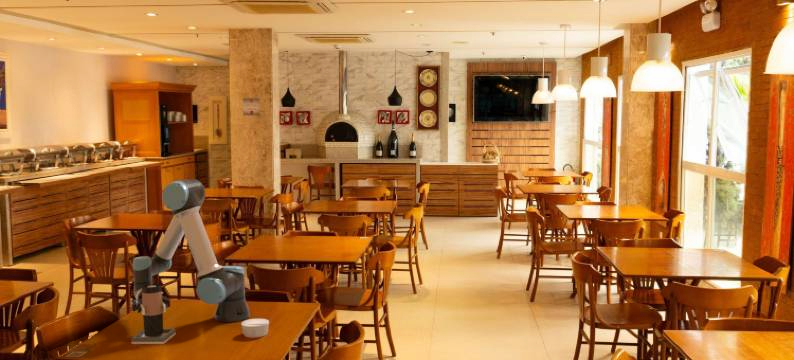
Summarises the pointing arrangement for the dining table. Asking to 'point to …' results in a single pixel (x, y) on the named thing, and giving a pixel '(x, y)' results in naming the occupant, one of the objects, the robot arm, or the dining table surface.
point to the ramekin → (255, 327)
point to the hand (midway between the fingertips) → (154, 310)
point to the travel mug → (152, 309)
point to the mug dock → (160, 339)
